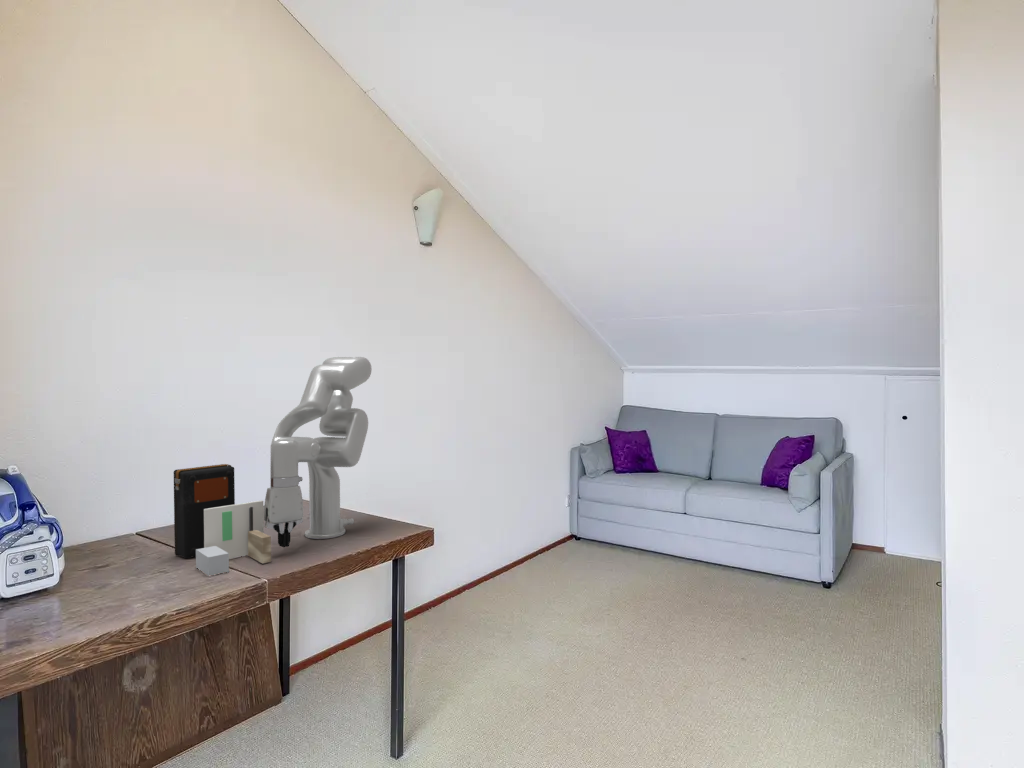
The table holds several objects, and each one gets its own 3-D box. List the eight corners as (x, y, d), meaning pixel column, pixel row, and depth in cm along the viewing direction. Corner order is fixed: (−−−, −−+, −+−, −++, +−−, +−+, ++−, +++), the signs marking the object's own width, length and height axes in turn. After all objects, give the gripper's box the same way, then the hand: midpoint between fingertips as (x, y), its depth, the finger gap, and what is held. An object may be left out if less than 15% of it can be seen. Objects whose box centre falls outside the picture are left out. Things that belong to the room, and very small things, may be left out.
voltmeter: (225, 543, 186) (224, 462, 186) (239, 548, 181) (238, 465, 180) (171, 555, 174) (170, 469, 174) (184, 561, 168) (183, 472, 168)
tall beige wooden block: (255, 553, 174) (255, 506, 174) (271, 561, 167) (270, 512, 166) (247, 555, 173) (246, 507, 172) (262, 563, 165) (261, 513, 165)
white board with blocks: (262, 551, 178) (261, 500, 177) (281, 560, 169) (280, 507, 168) (192, 565, 164) (191, 510, 164) (208, 576, 155) (207, 518, 155)
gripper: (303, 478, 182) (303, 539, 182) (253, 483, 171) (252, 548, 171) (314, 481, 177) (314, 544, 176) (263, 486, 166) (263, 553, 166)
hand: (284, 546), depth 174 cm, fingers closed
